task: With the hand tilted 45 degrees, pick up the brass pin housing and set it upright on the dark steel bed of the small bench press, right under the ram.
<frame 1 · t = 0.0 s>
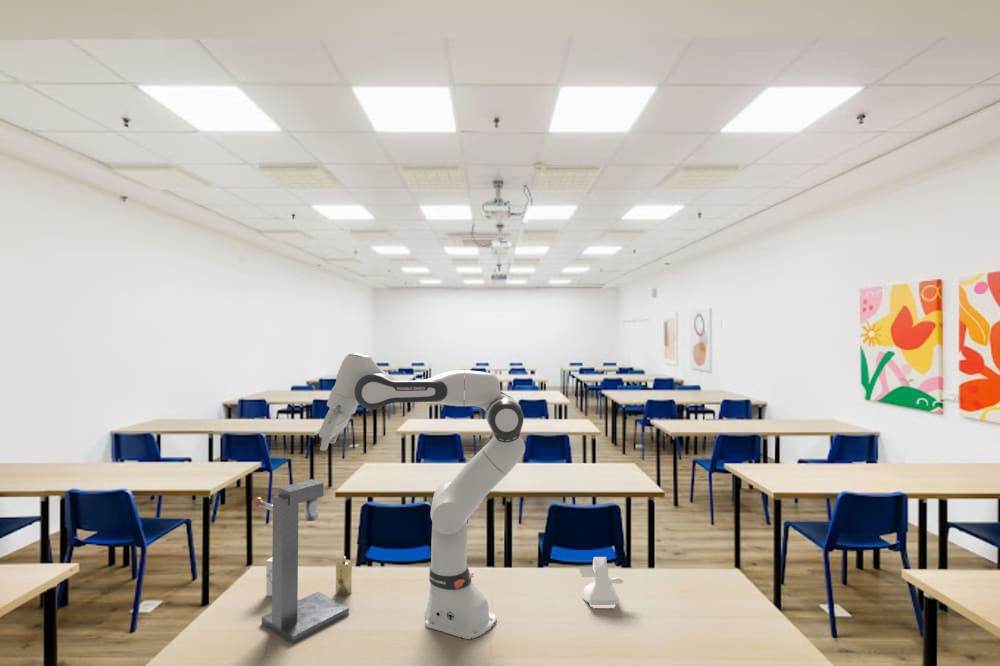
hand: (327, 446, 158), 52 cm above the table, tool tilted 20°, fingers open, 8 cm apart
bench press: (310, 616, 158), on the table
ink cartridge box: (280, 591, 173), on the table
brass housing: (343, 592, 172), on the table
white irregular piece: (601, 604, 168), on the table
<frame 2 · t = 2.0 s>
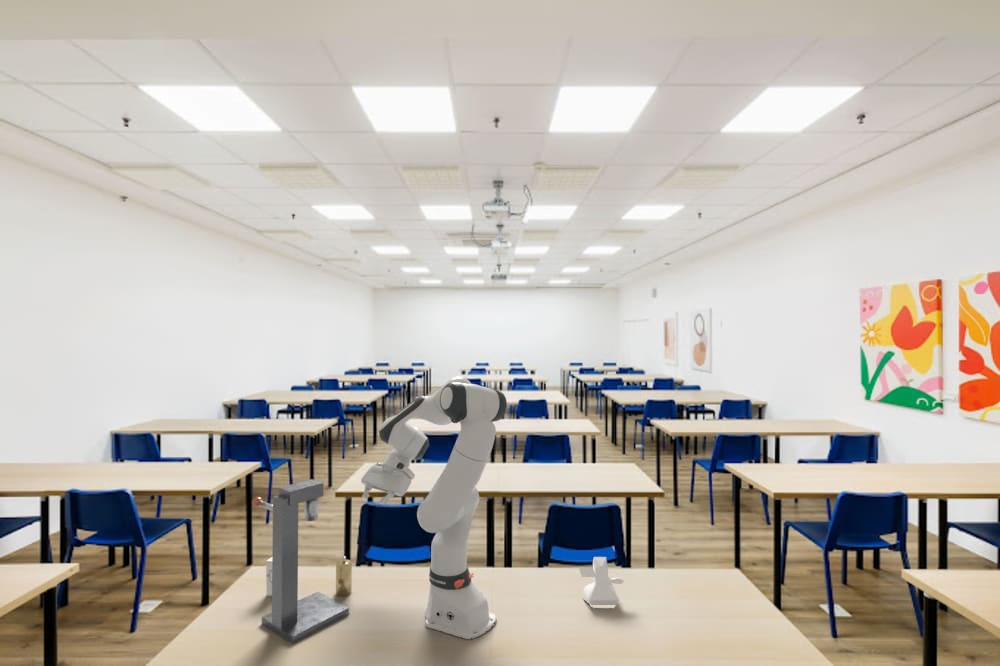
hand: (373, 500, 182), 28 cm above the table, tool tilted 45°, fingers open, 8 cm apart
nothing on the table moved.
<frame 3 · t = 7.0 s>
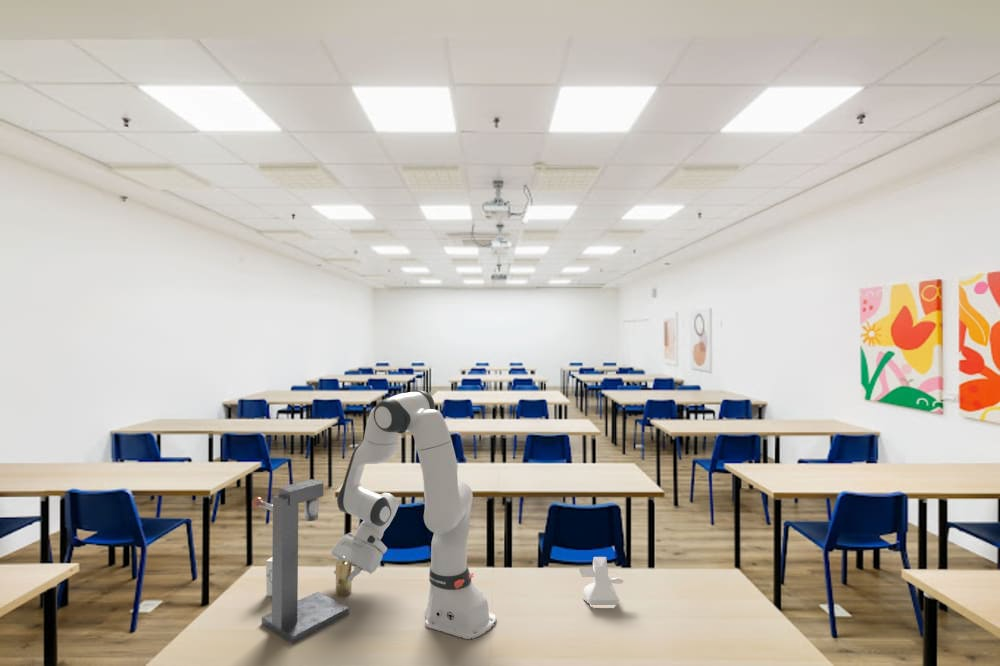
hand: (342, 577, 172), 5 cm above the table, tool tilted 45°, fingers closed on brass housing, 5 cm apart
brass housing: (343, 592, 172), on the table, touching gripper
everything else where it was.
when the fingers open (8 cm above the table, at t = 13.7 s): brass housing stays where it is, resting on bench press.
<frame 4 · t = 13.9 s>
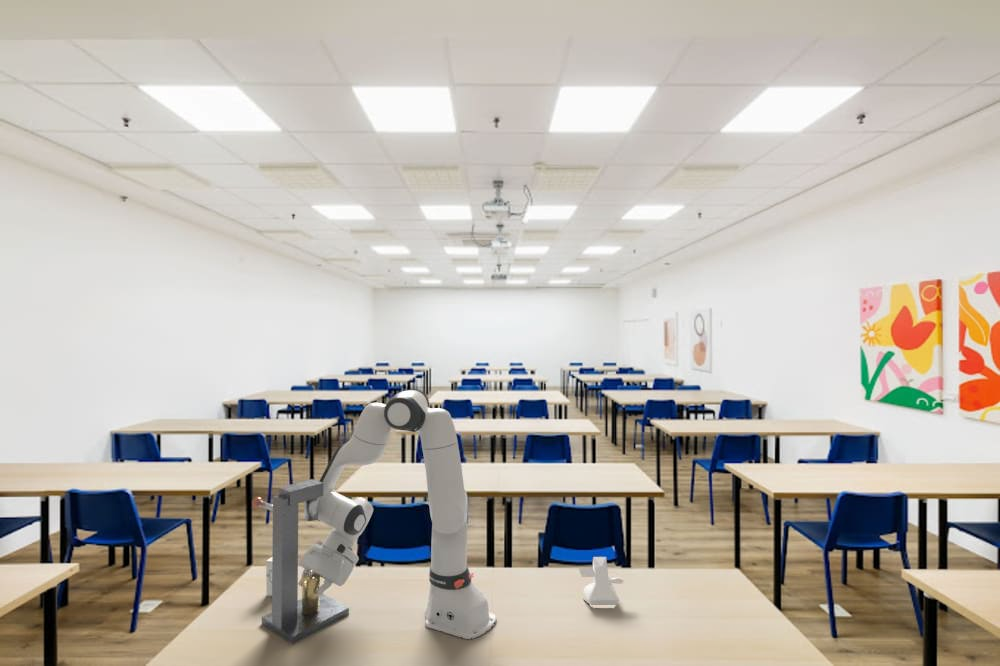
hand: (309, 590, 157), 8 cm above the table, tool tilted 45°, fingers open, 7 cm apart
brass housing: (310, 610, 158), point 2 cm above the table, touching bench press
everything else where it was.
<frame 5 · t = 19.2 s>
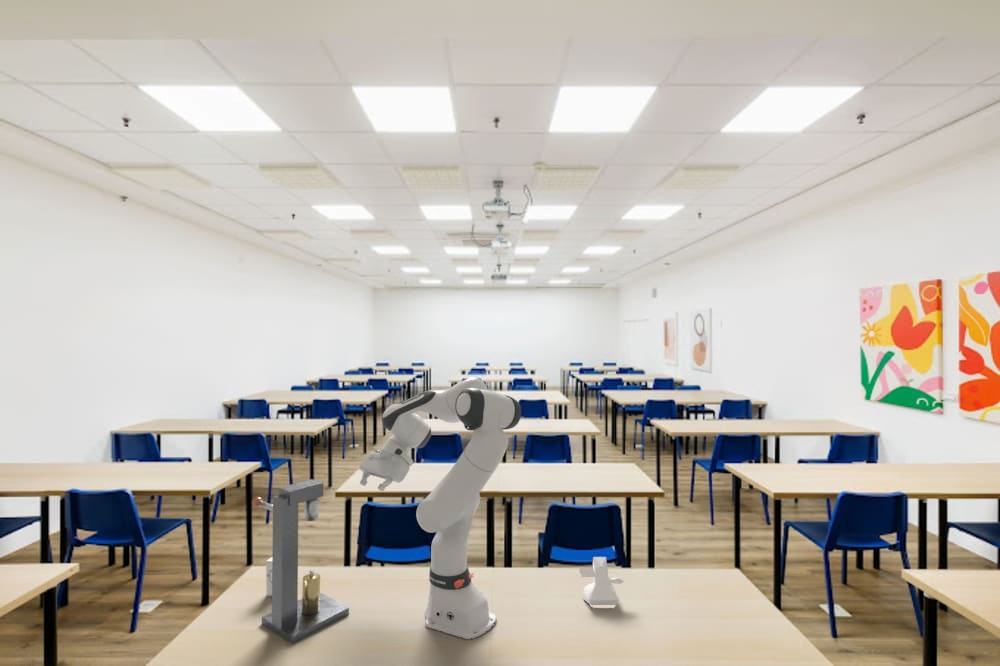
hand: (370, 487, 178), 33 cm above the table, tool tilted 45°, fingers open, 8 cm apart
nothing on the table moved.
at the end: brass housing inside the target area on the bench press (0.5 cm from its centre), point 2.0 cm above the bench press's base; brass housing tilted 1°; the gripper is holding nothing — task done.
